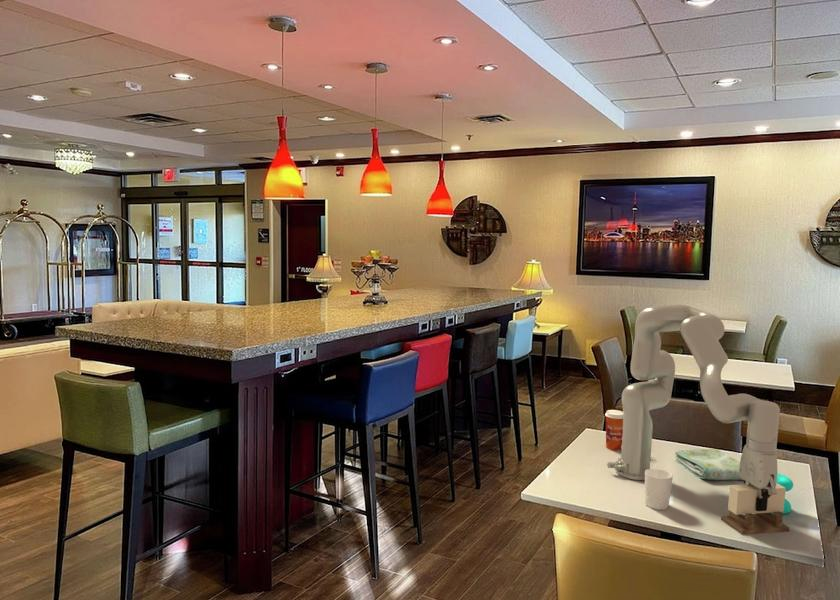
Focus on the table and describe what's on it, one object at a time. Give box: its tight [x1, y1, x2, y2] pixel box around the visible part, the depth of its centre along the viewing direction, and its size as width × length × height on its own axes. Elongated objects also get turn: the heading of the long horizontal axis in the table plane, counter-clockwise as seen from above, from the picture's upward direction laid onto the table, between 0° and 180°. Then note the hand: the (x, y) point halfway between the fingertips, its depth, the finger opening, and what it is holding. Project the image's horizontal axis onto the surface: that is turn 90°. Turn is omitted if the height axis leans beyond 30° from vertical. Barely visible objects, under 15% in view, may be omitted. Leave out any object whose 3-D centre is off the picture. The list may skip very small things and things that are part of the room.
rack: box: [720, 510, 791, 535], centre depth 180 cm, size 15×9×5 cm, turn 100°
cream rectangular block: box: [727, 483, 786, 515], centre depth 179 cm, size 15×4×7 cm, turn 100°
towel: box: [675, 448, 743, 481], centre depth 221 cm, size 18×21×5 cm
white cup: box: [644, 468, 674, 511], centre depth 191 cm, size 8×8×10 cm
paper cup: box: [604, 409, 623, 451], centre depth 241 cm, size 8×8×14 cm
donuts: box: [771, 472, 794, 515], centre depth 191 cm, size 10×10×10 cm
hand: (755, 506), depth 179 cm, fingers closed on cream rectangular block, 3 cm apart
